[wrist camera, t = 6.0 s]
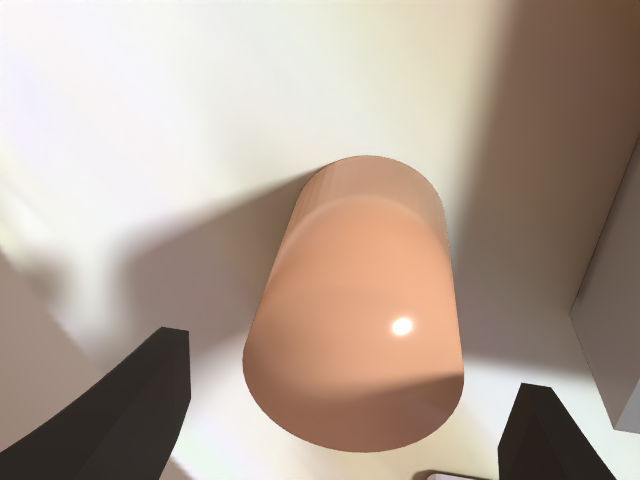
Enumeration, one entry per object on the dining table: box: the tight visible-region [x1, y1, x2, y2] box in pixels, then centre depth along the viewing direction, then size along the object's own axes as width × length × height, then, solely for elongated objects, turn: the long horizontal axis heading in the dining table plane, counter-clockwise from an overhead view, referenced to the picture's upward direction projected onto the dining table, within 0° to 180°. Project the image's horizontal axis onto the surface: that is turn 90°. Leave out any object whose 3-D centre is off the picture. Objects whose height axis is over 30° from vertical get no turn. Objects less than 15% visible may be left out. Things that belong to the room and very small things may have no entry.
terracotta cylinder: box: [242, 156, 464, 453], centre depth 16 cm, size 5×5×7 cm
